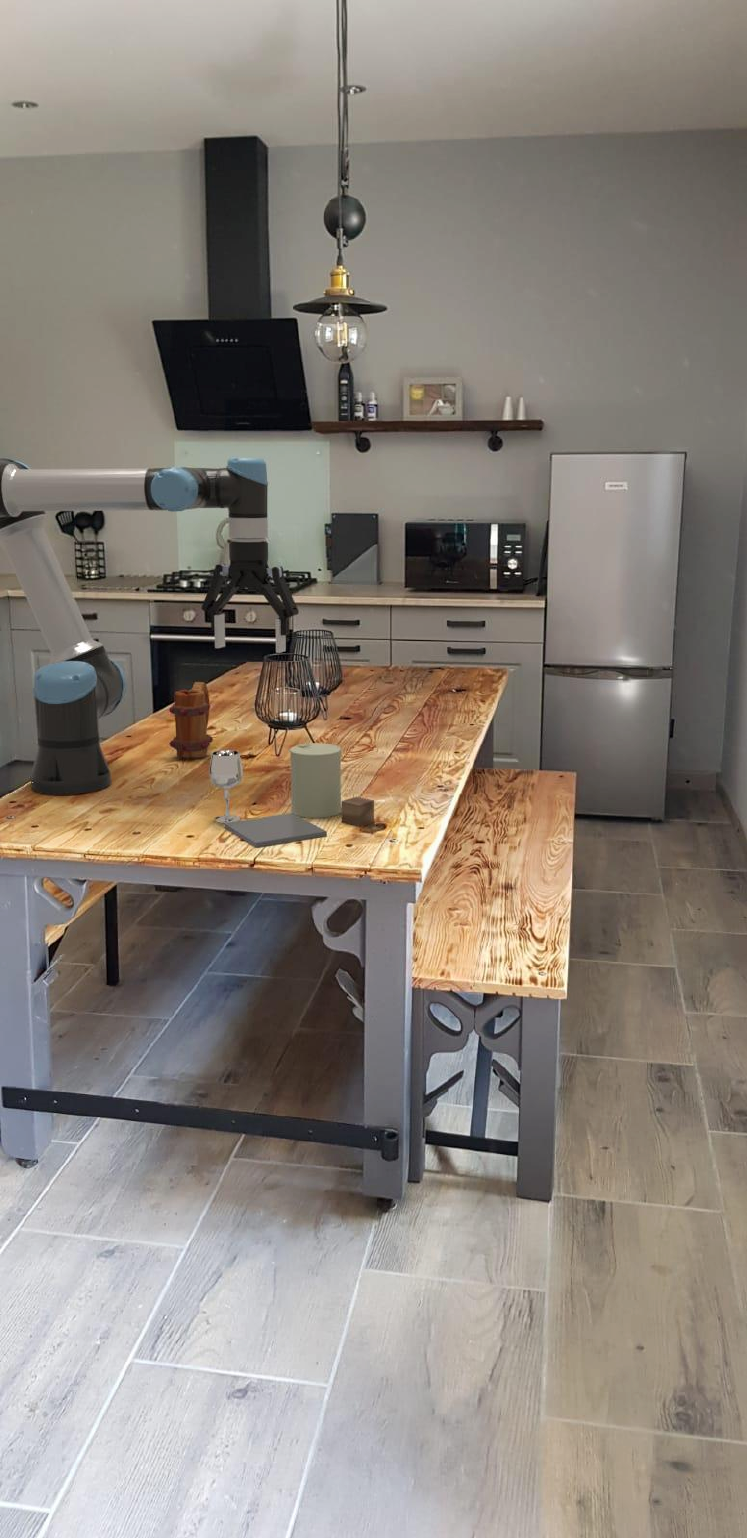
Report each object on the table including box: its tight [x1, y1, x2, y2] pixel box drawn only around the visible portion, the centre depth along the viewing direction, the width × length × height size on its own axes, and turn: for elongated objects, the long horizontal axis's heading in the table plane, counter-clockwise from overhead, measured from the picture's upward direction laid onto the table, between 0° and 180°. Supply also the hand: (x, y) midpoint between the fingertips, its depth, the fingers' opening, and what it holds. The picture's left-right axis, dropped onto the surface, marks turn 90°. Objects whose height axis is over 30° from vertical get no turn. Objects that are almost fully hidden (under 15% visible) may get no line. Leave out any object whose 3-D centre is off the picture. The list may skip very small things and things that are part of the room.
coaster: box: [223, 812, 327, 849], centre depth 208 cm, size 13×13×1 cm
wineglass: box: [208, 749, 244, 824], centre depth 214 cm, size 6×6×12 cm
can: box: [289, 742, 342, 819], centre depth 219 cm, size 9×9×12 cm
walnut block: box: [341, 796, 375, 828], centre depth 213 cm, size 4×4×4 cm
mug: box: [168, 681, 214, 760], centre depth 262 cm, size 15×8×15 cm, turn 168°
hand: (250, 649), depth 241 cm, fingers open, 13 cm apart
